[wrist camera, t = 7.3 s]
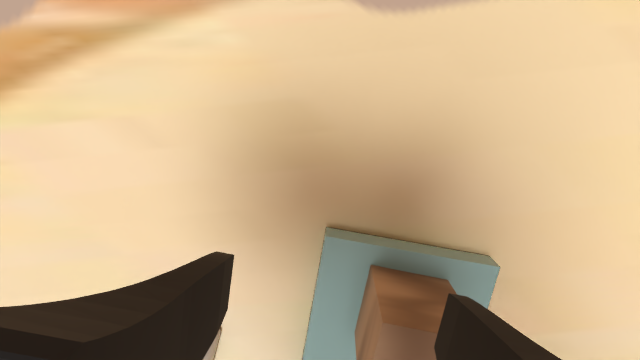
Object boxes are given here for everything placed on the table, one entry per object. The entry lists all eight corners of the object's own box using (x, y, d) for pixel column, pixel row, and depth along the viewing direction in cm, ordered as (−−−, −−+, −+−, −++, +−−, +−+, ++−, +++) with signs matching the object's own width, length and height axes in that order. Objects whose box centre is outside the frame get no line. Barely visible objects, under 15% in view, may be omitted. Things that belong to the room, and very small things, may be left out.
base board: (489, 256, 21) (500, 267, 20) (448, 393, 24) (456, 412, 22) (326, 227, 22) (325, 236, 20) (300, 366, 24) (298, 383, 22)
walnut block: (447, 279, 20) (487, 343, 15) (428, 347, 21) (458, 429, 16) (370, 264, 20) (382, 322, 15) (354, 332, 21) (360, 410, 16)
